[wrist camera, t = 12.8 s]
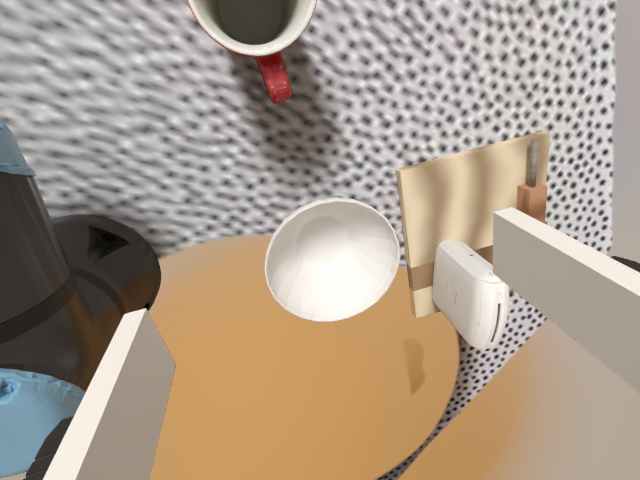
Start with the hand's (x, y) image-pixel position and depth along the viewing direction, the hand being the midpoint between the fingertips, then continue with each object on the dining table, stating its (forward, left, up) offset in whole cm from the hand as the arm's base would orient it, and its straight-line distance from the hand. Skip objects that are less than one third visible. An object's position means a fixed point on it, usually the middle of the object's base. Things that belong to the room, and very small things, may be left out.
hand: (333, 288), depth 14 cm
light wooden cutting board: (+24, -19, -32) cm, 44 cm away
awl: (+31, -14, -30) cm, 45 cm away
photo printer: (+19, -23, -30) cm, 43 cm away
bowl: (+3, -14, -32) cm, 35 cm away
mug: (+1, +11, -32) cm, 34 cm away
